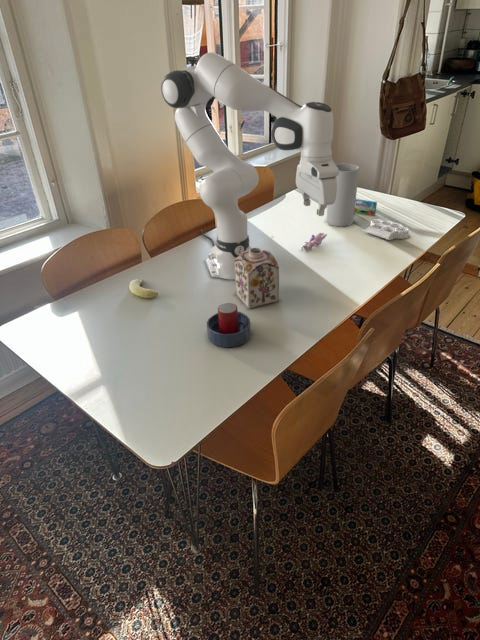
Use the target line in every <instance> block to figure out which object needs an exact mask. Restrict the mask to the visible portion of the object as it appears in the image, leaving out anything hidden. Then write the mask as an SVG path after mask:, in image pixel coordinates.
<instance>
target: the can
mask: <svg viewBox="0 0 480 640" xmlns="http://www.w3.org/2000/svg"><path fill="white" fill-rule="evenodd" d="M238 312H239V309H238V306H237V305H236V304H234V303H231V302H225V303H222V304H220V305H218V307H217V313H218V318H219V331H220V334H234V333H237V332H239V330H238Z"/></svg>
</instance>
